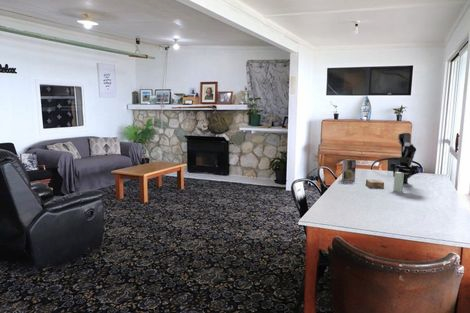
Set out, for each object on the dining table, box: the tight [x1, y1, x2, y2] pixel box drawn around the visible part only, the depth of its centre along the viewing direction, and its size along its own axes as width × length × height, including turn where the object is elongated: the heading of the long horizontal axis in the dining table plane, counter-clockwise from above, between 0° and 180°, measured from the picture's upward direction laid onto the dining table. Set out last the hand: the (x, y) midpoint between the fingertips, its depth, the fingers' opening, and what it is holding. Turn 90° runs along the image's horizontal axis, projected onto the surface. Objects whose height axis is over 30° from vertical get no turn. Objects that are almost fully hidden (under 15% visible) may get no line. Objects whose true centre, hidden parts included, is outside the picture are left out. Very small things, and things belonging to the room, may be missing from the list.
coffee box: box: [341, 158, 357, 181], centre depth 291 cm, size 9×6×16 cm
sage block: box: [393, 172, 404, 193], centre depth 255 cm, size 4×4×13 cm
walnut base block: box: [365, 178, 385, 189], centre depth 269 cm, size 10×10×4 cm
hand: (400, 177), depth 256 cm, fingers open, 9 cm apart
